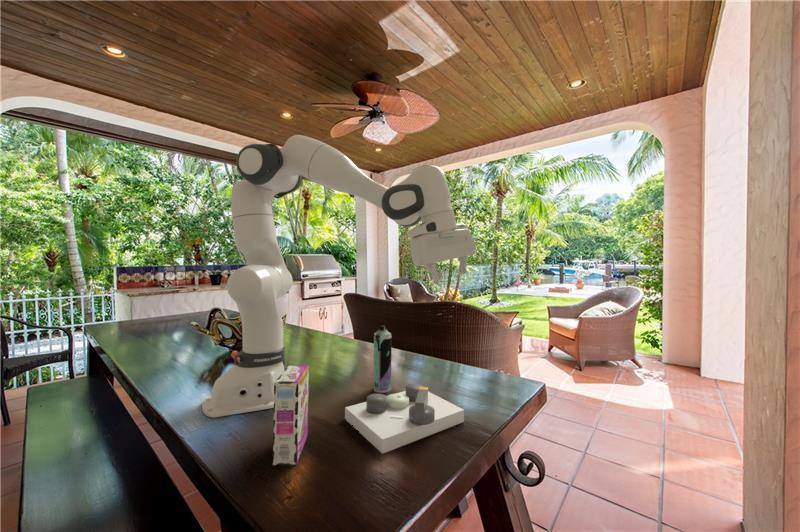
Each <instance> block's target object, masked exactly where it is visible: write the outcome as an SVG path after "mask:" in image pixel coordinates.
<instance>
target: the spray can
mask: <svg viewBox="0 0 800 532" xmlns="http://www.w3.org/2000/svg"><path fill="white" fill-rule="evenodd" d="M373 391H374V392H375V393H377V394H385V393H389V392H391V391H392V333H391V332H389V331H388V329H387V328H386V325H381V326H379V329H378V330H377V331H376V332H374V336H373Z"/></svg>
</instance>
